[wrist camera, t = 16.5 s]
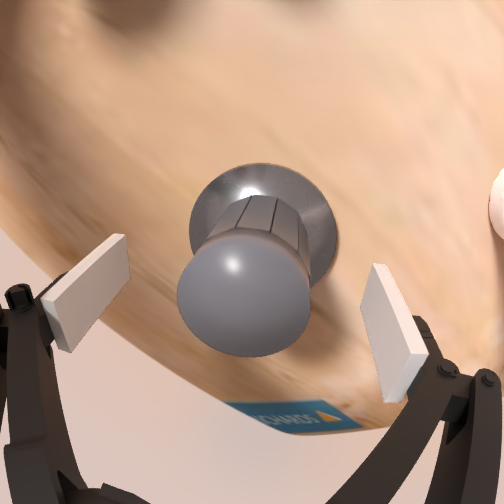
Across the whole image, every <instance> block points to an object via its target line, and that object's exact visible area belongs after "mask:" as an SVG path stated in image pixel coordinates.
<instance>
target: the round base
mask: <svg viewBox="0 0 504 504" xmlns="http://www.w3.org/2000/svg"><path fill="white" fill-rule="evenodd" d="M253 194H256V195H264V196H273V197H277V199H278V198H280V199H281V200H283V201H284V202H285V203H287V204H288V205H290V206H291V207H292V208H294V209H295V210H296V211H298V213H299V215H300V217H301V219H302V222H303V224H304V226H305V229H306V231H307V235H308V246H309V259H310V272H311V283H310V288H311V287H312V286H313V285H314V284H315V283H317V282H318V281H319V280H320V278H321V277H322V276H323V275H324V273H325V272H326V270H327V269H328V267H329V265H330V263H331V261H332V258H333V255H334V252H335V247H336V225H335V220H334V217H333V214H332V211H331V208H330V206H329V204H328V202H327V200H326V199H325V197H324V196H323V194H322V193H321V191H320V190H319V189H318V188H317V187H316V186H315V185H314V184H313V183H312V182H311V181H310V180H309V179H307V178H306V177H304V176H303V175H301V174H300V173H298V172H296V171H294V170H292V169H290V168H287V167H284V166H280V165H276V164H270V163H253V164H246V165H242V166H238V167H236V168H233V169H230V170H228V171H227V172H225V173H223V174H221V175H220V176H219V177H217V178H216V179H215V180H213V181H212V182H211V183H210V184H209V185H208V186H207V187H206V188H205V189H204V190H203V192H202V193H201V194H200V196H199V197H198V199H197V201H196V203H195V205H194V208H193V210H192V213H191V218H190V224H189V237H190V243H191V248H192V251H193V254H194V255H195V254H196V252H197V251H198V249H199V248H200V246H201V245H202V243H203V242H204V240H205V239H206V238H207V236H208V235H209V233H210V232H211V230H212V229H213V228H214V226H215V225H216V223H217V222H218V220H219V219H220V218H221V216H222V215H223V213H224V212H225V211H226V209H227V208H228V206H229V205H230V204H231V203H233V202H236V201H238V200H240V199H243V198H245V197H247V196H250V195H252V196H253Z"/></svg>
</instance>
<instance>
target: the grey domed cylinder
mask: <svg viewBox="0 0 504 504" xmlns="http://www.w3.org/2000/svg"><path fill="white" fill-rule="evenodd" d="M310 283H311V272H310V259H309V246H308V235H307V231H306V229H305V226H304V224H303V222H302V219H301V217H300V215H299V213H298V211H296V210H295V209H294V208H292V207H291V206H290V205H288V204H287V203H285V202H284V201H283V200H281V199H280V198H278V199H277V197H273V196H264V195H256V194H253V196H252V195H250V196H247V197H245V198H243V199H240V200H238V201H236V202H233V203H231V204H230V205H229V206H228V208H227V209H226V211H225V212H224V213H223V215H222V216H221V218H220V219H219V220H218V222H217V223H216V225H215V226H214V228H213V229H212V230H211V232H210V233H209V235H208V236H207V238H206V239H205V240H204V242H203V243H202V245H201V246H200V248H199V249H198V251H197V252H196V254H195V255H194V257H193V258H192V260H191V261H190V263H189V264H188V266H187V267H186V269H185V270H184V272H183V274H182V275H181V277H180V280H179V283H178V288H177V302H178V307H179V311H180V314H181V316H182V318H183V320H184V322H185V323H186V325H187V326H188V328H189V329H190V330H191V331H192V333H193V334H194V335H195V336H196V337H198V338H199V339H200V340H201V341H202V342H204V343H205V344H207V345H208V346H210V347H212V348H214V349H216V350H218V351H220V352H223V353H226V354H229V355H234V356H239V357H262V356H267V355H271V354H274V353H277V352H279V351H281V350H284V349H285V348H287V347H288V346H290V345H291V344H292V343H294V342H295V341H296V340H297V339H298V338H299V337H300V335H301V334H302V333H303V331H304V330H305V328H306V326H307V323H308V320H309V316H310Z"/></svg>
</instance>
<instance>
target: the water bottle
mask: <svg viewBox="0 0 504 504" xmlns="http://www.w3.org/2000/svg"><path fill="white" fill-rule="evenodd" d="M489 216H490V220H491V222H492V224H493V228H494V230H495V231H496V233H497V234H498V235H499V236H500V237H501V238H502V239H504V168H503V169H502V170H501V171H500V173H499V176H498V177H497V178H496V179H495V181H494V183H493V186H492V189H491V192H490V202H489Z"/></svg>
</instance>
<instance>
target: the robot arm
mask: <svg viewBox="0 0 504 504" xmlns="http://www.w3.org/2000/svg"><path fill="white" fill-rule="evenodd" d="M130 278H131V277H130V270H129V262H128V254H127V245H126V235H124V234H115V233H114V234H112V235H111V236H110V237H109V238H108V239H106V240H105V241H104V242H103V243H102V244H100V245H99V246H98V247H97V248H96V249H94V250H93V251H92V252H91V253H90V254H89V255H87V256H86V257H85V258H84V259H83V260H82V261H80V262H79V263H78V264H77V265H76V266H75V267H74V268H73V269H71V270H70V271H69V272H66V273H64V274H62V275H60V276H59V277H57V278H56V279H55V280H54V281H53V283H51V284H50V285H49V286H48V287H46V288H45V290H43V291H42V292H41V293H40V294H39V295H38V296H37V297H36V298H35V299H34V298H33V296H32V292H31V289H30V286H29V285H28V284H17V285H14V286H12V287H10V288H9V289H8V290H7V291H6V293H5V297H6V300H7V303H8V306H9V308H10V309H2V307H1V304H0V431H1V425H2V419H3V413H4V408H5V402H6V398H7V408H8V422H9V433H10V444H7V445H5V446H4V460H5V467H6V472H7V478H8V484H9V488H10V494H11V498H12V503H13V504H150V503H148V502H147V501H145V500H143V499H141V498H140V497H138V496H136V495H135V494H133V493H130V492H127V491H124V490H121V489H118V488H116V487H113V486H110V485H108V484H105V483H103V484H102V487H101V489H99V488H88V487H87V485H86V483H85V482H84V480H83V478H82V477H81V475H80V472H79V469H78V466H77V463H76V460H75V457H74V453H73V450H72V446H71V443H70V439H69V435H68V431H67V427H66V423H65V419H64V414H63V410H62V405H61V400H60V395H59V389H58V384H57V378H56V372H55V364H54V358H53V350H52V347H51V345H50V344H51V343H52V341H53V340H54V339H55V341H56V344H57V346H58V349H60V350H63V351H66V352H69V353H72V351H73V350H74V349H75V347H76V346H77V345H78V343H79V342H80V341H81V339H82V338H83V337H84V336H85V334H86V333H87V332H88V330H89V329H90V328H91V326H92V325H93V324H94V322H95V321H96V320H97V319H98V318H99V316H100V315H101V314H102V312H103V311H104V310H105V309H106V307H107V306H108V305H109V304H110V303H111V301H112V300H113V299H114V298H115V296H116V295H117V294H118V293H119V291H120V290H121V289H122V288H123V287H124V285H125V284H126V283H127V282H128V281H129V279H130ZM360 309H361V313H362V316H363V320H364V323H365V327H366V331H367V334H368V338H369V342H370V346H371V350H372V354H373V358H374V362H375V366H376V370H377V374H378V378H379V383H380V387H381V392H382V396H383V401H384V403H392V402H401V401H402V399H403V398H404V396H405V395H406V393H407V396H408V400H409V401H408V403H407V404H406V406H405V407H404V409H403V410H402V412H401V413H400V414H399V416H398V417H397V419H396V420H395V422H394V423H393V424H392V426H391V427H390V429H389V430H388V431H387V433H386V434H385V435H384V437H383V438H382V439H381V441H380V442H379V443H378V444H377V446H376V447H375V448H374V450H373V451H372V452H371V453H370V455H369V456H368V457H367V458H366V460H365V461H364V462H363V463H362V464H361V465H360V467H359V468H358V469H357V470H356V472H355V473H354V474H353V475H352V476H351V477H350V478H349V479H348V480H347V482H346V483H345V484H344V485H343V486H342V487H341V488H340V489H339V490H338V491H337V492H336V494H334V495H333V496H332V497H331V499H329V500H328V502H326V503H325V504H388V503H389V502H390V500H391V499H392V498H393V496H394V495H395V493H396V492H397V491H398V489H399V487H400V486H401V485H402V483H403V482H404V480H405V479H406V477H407V476H408V474H409V473H410V471H411V470H412V468H413V466H414V465H415V463H416V462H417V460H418V459H419V457H420V455H421V453H422V452H423V450H424V448H425V447H426V445H427V443H428V441H429V440H430V438H431V436H432V434H433V432H434V430H435V428H436V426H437V425H438V423H439V421H440V420H442V421H445V425H444V429H443V435H442V440H441V444H440V449H439V453H438V458H437V462H436V466H435V470H434V473H433V477H432V481H431V484H430V488H429V491H428V494H427V498H426V500H425V503H424V504H495V499H496V493H497V486H498V478H499V469H500V458H501V443H502V392H501V382H500V379H499V377H498V376H497V374H496V373H494V372H493V371H491V370H489V369H485V368H483V369H479V370H478V371H477V373H476V374H475V376H474V377H473V376H469V375H465V374H461V373H460V372H459V369H458V367H457V366H456V365H455V364H454V363H453V362H451V361H450V360H447V359H444V358H443V356H442V354H441V351H440V349H439V347H438V345H437V343H436V341H435V339H434V337H433V335H432V333H431V331H430V328H429V326H428V324H427V323H426V322H425V321H424V320H423V319H422V318H421V317H420V316H412V315H411V313H410V311H409V309H408V307H407V305H406V303H405V301H404V299H403V297H402V295H401V293H400V291H399V289H398V287H397V285H396V283H395V281H394V279H393V277H392V275H391V273H390V271H389V269H388V267H387V266H386V265H385V264H376V263H372V267H371V271H370V274H369V278H368V281H367V285H366V288H365V292H364V295H363V299H362V302H361V305H360Z"/></svg>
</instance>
